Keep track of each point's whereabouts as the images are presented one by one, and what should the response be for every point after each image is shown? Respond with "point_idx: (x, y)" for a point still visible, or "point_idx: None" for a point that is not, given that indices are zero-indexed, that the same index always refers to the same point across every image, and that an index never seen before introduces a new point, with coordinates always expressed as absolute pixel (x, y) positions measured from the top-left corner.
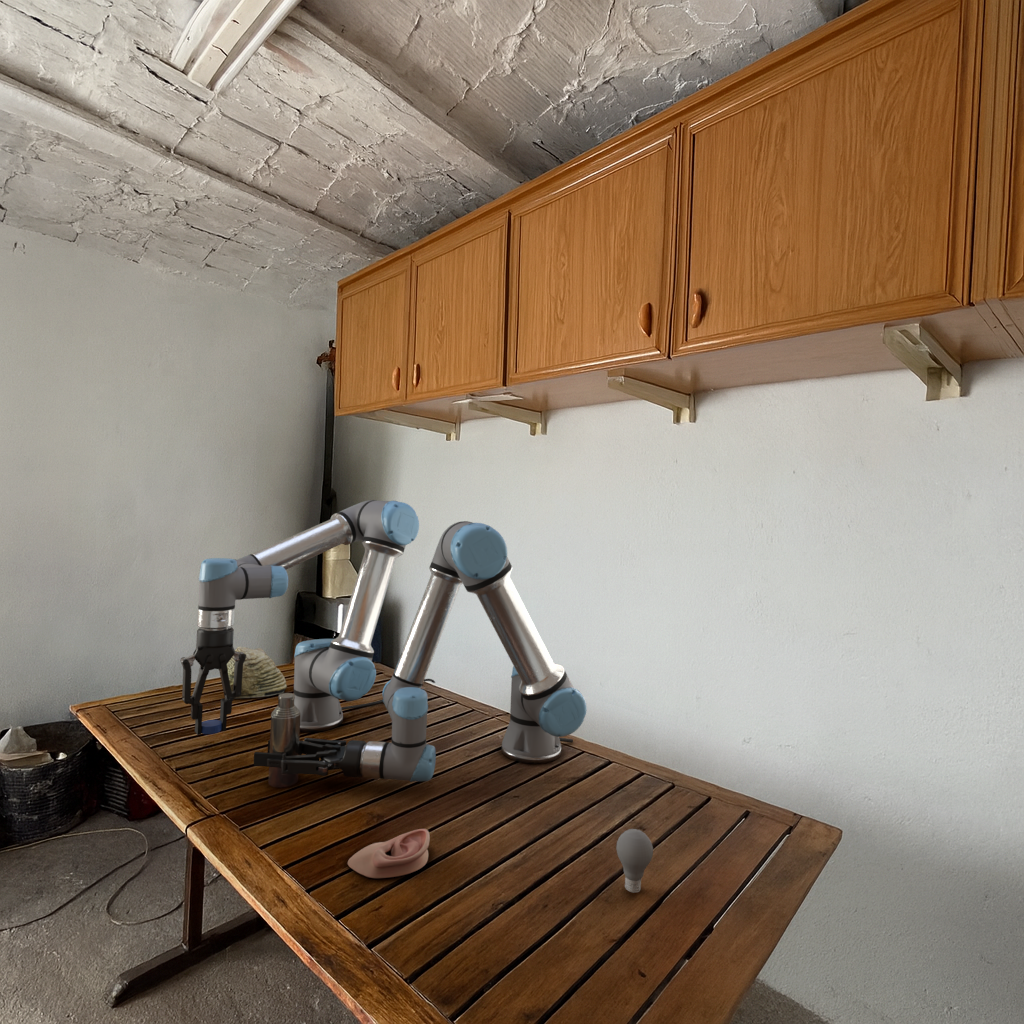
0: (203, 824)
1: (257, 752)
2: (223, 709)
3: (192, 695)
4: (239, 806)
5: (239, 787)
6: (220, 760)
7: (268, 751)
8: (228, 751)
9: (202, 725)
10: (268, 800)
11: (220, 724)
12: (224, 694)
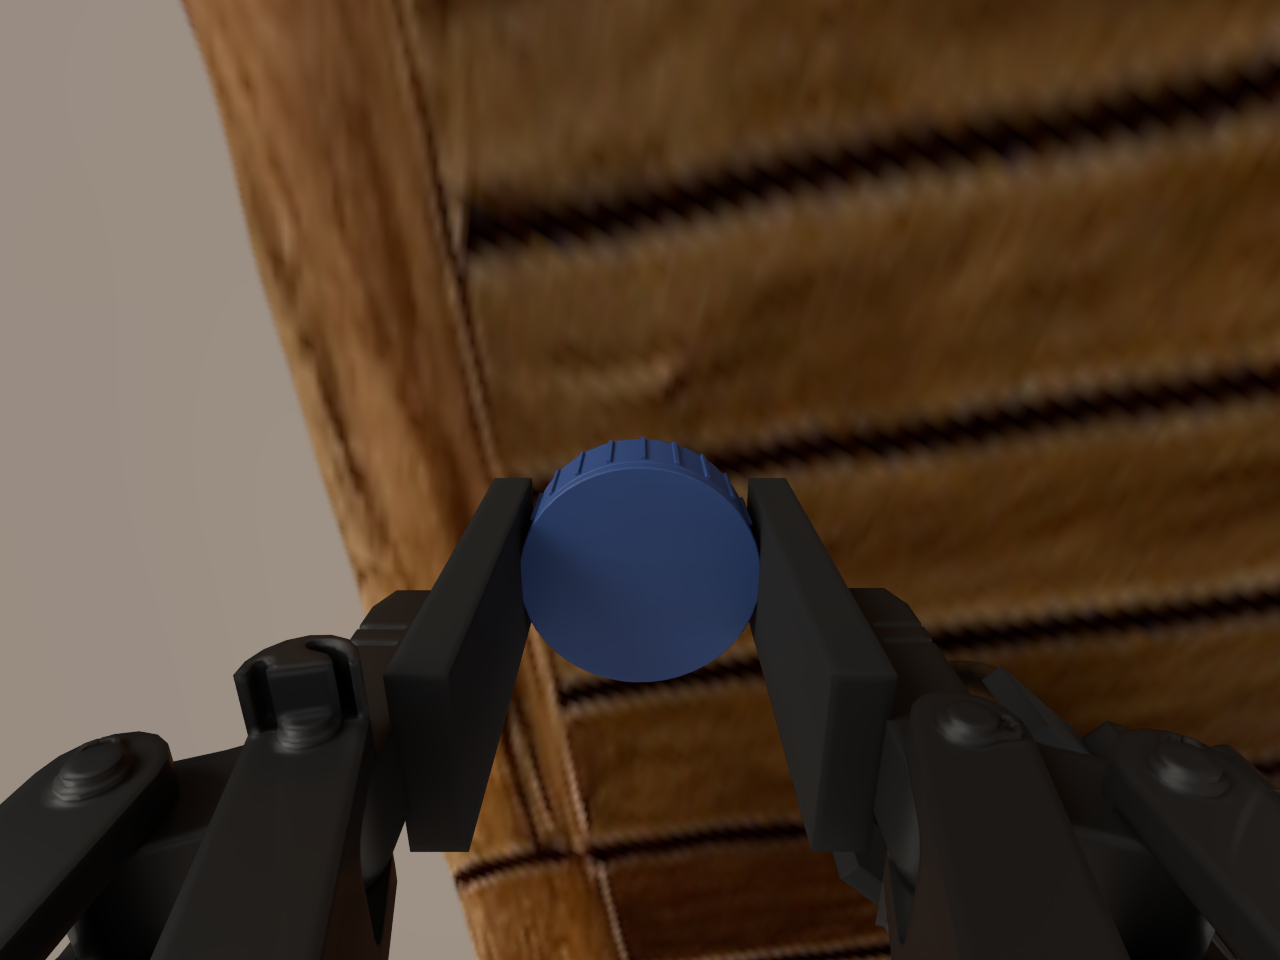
0: (510, 897)
1: (865, 876)
2: (787, 752)
3: (219, 823)
4: (674, 840)
5: (736, 677)
6: (767, 232)
7: (991, 690)
8: (879, 66)
9: (539, 612)
10: (801, 851)
11: (723, 648)
12: (912, 792)
